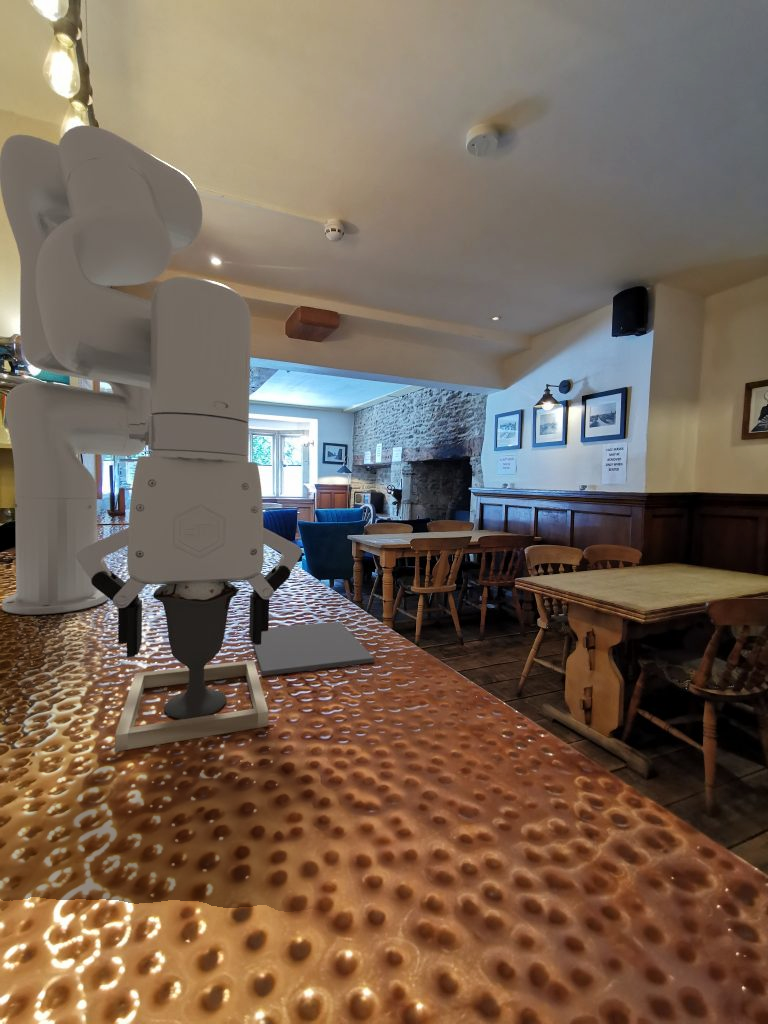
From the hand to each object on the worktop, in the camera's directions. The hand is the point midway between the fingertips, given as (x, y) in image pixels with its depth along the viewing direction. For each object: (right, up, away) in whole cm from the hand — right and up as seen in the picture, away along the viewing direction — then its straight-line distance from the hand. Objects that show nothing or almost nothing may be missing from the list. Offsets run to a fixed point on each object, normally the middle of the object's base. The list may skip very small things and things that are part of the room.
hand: (197, 644), depth 38 cm
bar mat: (+7, -5, +15) cm, 17 cm away
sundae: (0, -5, 0) cm, 5 cm away
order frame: (0, -5, 0) cm, 5 cm away
